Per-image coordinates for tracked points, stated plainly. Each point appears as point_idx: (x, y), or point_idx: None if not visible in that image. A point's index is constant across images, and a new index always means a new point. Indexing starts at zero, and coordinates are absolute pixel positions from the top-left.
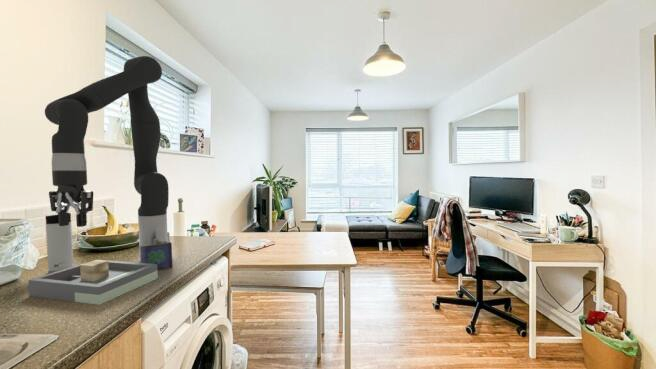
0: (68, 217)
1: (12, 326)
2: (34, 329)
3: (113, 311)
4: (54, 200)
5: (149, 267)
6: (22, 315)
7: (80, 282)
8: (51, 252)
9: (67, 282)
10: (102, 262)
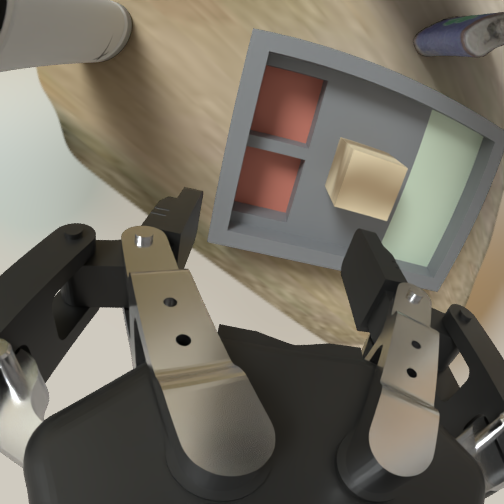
0: (191, 214)
1: (321, 331)
2: (365, 336)
3: (454, 290)
4: (47, 362)
5: (499, 161)
6: (301, 302)
7: None
8: (61, 63)
9: None
10: (398, 186)
